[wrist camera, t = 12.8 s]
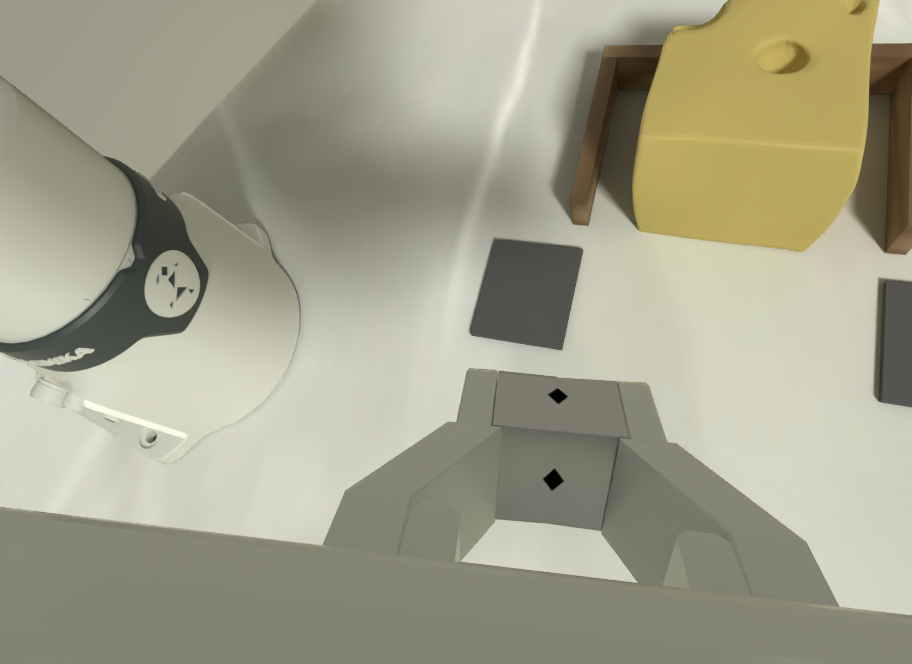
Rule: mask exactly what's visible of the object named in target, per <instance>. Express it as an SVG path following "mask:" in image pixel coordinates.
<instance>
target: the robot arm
mask: <svg viewBox="0 0 912 664" xmlns="http://www.w3.org/2000/svg"><path fill="white" fill-rule="evenodd" d="M299 326H300V309H299V302H298V298H297V294H296V291H295V289H294V286H293V284H292V282H291V280H290V279H289V277H288V276H287V274H286V273H285V272H284V271H283V270H282V269H281V267H280V266H279V265H278V264H277V263H276V261H275V260H274V258H273V256H272V252H271V247H270V242H269V239H268V236H267V234H266V232H265V231H264V230H263V229H262V228H260V227H259V226H257V225H256V224H253V223H243V224H232V223H230V222H229V221H228V220H226V219H225V218H224V217H222V216H221V215H219V214H218V213H217V212H215V211H214V210H212V209H211V208H210V207H208V206H207V205H206V204H204V203H203V202H201V201H200V200H199V199H197V198H196V197H194V196H193V195H191V194H189V193H186V192H181V193H179V194H163V193H162V191H161V190H160V189H158V187H157V186H156V185H155V184H154V183H152V182H151V181H150V180H149V179H147V178H146V177H145V176H143V175H142V174H140V173H138V172H136V171H135V170H132V169H131V168H129V167H128V166H126V165H125V164H123V163H122V162H120V161H118V160H115V159H113V158H109V157H105V156H102V155H101V154H99V153H98V152H97V151H95V150H94V149H93V148H92V147H91V146H89V145H88V144H87V143H85V142H84V141H83V140H82V139H80V138H79V137H78V136H77V135H75V134H74V133H73V132H72V131H70V130H69V129H68V128H67V127H65V126H64V125H63V124H62V123H60V122H59V121H58V120H56V119H55V118H54V117H53V116H51V115H50V114H49V113H48V112H46V111H45V110H44V109H42V108H41V107H40V106H39V105H37V104H36V103H35V102H34V101H32V100H31V99H30V98H28V97H27V96H26V95H25V94H23V93H22V92H21V91H20V90H18V89H17V88H16V87H15V86H13V85H12V84H10V83H9V82H8V81H7V80H6V79H4V78H3V77H2V76H0V354H2V355H4V356H6V357H8V358H11V359H13V360H16V361H19V362H22V363H25V364H27V365H28V366H30V367H31V368H33V369H34V370H36V384H35V385H34V387H33V389H32V390H31V392H30V393H31V394H30V396H31V397H33V398H35V399H37V400H39V401H42V402H44V403H47V404H50V405H53V406H56V407H60V408H65V407H67V408H69V409H71V410H73V411H74V412H76V413H78V414H79V415H81V416H83V417H84V418H86V419H88V420H89V421H91V422H93V423H94V424H96V425H97V426H99V427H101V428H102V429H104V430H106V431H107V432H109V433H111V434H112V435H114V436H116V437H117V438H119V439H121V440H122V441H124V442H125V443H127V444H129V445H130V446H132V447H134V448H135V449H137V450H139V451H140V452H142V453H144V454H145V455H147V456H149V457H150V458H152V459H154V460H157V461H159V462H162V463H171V462H173V461H175V460H177V459H178V458H180V457H181V456H182V455H183V454H185V453H186V452H187V451H188V450H189V449H190V448H191V447H192V446H193V445H194V444H195V443H197V442H198V441H199V440H200V439H201V438H202V437H204V436H205V435H207V434H209V433H211V432H213V431H216V430H218V429H221V428H223V427H225V426H228V425H230V424H232V423H234V422H235V421H237V420H239V419H241V418H242V417H244V416H245V415H247V414H248V413H249V412H251V411H252V410H253V409H254V408H256V407H257V406H258V405H259V404H260V403H261V402H262V401H263V400H264V399H265V398H266V397H267V396H268V395H269V394H270V392H271V391H272V390H273V389H274V387H275V386H276V385H277V383H278V382H279V381H280V379H281V377H282V376H283V374H284V372H285V371H286V369H287V367H288V365H289V363H290V360H291V358H292V355H293V353H294V350H295V347H296V343H297V339H298V334H299ZM156 435H157V438H156V440H155V441H154V437H155V436H156ZM495 519H499V520H511V521H523V522H535V523H548V524H554V525H562V526H569V527H576V528H583V529H591V530H598V531H602V532H601V534H602V535H603V536H604V538H605V539H606V540H607V542H608V543H609V544H610V546H611V547H612V548H613V550H614V551H615V552H616V554H617V555H618V556H619V558H620V559H621V560H622V562H623V563H624V565H625V566H626V567H627V569H628V570H629V571H630V573H631V574H632V575H633V577H634V578H635V579H636V581H637V582H638V583H634V582H625V581H617V580H608V579H600V578H592V577H583V576H575V575H566V574H558V573H550V572H541V571H533V570H524V569H516V568H508V567H499V566H491V565H482V564H474V563H466V562H460V561H461V560H462V559H463V558H464V557H465V556H466V554H467V553H468V552H469V551H470V550H471V549H472V547H473V546H474V545H475V544H476V543H477V542H478V541H479V539H480V538H481V537H482V536H483V535H484V534H485V532H486V531H487V530H488V529H489V528H490V527H491V526H492V524H493V523H494V522H495ZM0 664H912V615H903V614H895V613H886V612H878V611H869V610H861V609H853V608H844V607H839V605H838V603H837V601H836V599H835V597H834V595H833V593H832V591H831V589H830V587H829V585H828V583H827V582H826V580H825V578H824V576H823V574H822V572H821V570H820V568H819V566H818V564H817V562H816V560H815V558H814V556H813V554H812V552H811V550H810V548H809V547H808V545H807V543H806V541H804V540H803V539H802V538H800V537H799V536H798V535H796V534H795V533H794V532H792V531H791V530H790V529H788V528H787V527H786V526H785V525H783V524H782V523H781V522H779V521H778V520H777V519H775V518H774V517H773V516H771V515H770V514H769V513H767V512H766V511H765V510H763V509H762V508H761V507H760V506H758V505H757V504H756V503H754V502H753V501H752V500H750V499H749V498H748V497H746V496H745V495H744V494H742V493H741V492H740V491H738V490H737V489H736V488H734V487H733V486H732V485H731V484H729V483H728V482H727V481H725V480H724V479H723V478H721V477H720V476H719V475H717V474H716V473H715V472H713V471H712V470H711V469H709V468H708V467H707V466H705V465H704V464H703V463H702V462H700V461H699V460H698V459H696V458H695V457H694V456H692V455H691V454H690V453H688V452H687V451H686V450H684V449H683V448H682V447H680V446H679V445H678V444H677V443H667V440H666V437H665V434H664V431H663V427H662V424H661V421H660V418H659V415H658V412H657V408H656V405H655V402H654V399H653V396H652V393H651V389H650V386H649V385H648V384H647V383H643V382H622V381H604V380H588V379H572V378H557V377H554V376H544V375H535V374H525V373H516V372H506V371H499V372H497V370H488V369H474V368H469V369H468V371H467V373H466V378H465V382H464V387H463V392H462V397H461V402H460V407H459V411H458V416H457V421H456V422H447V423H445V424H444V425H442V426H441V427H439V428H438V429H436V430H435V431H433V432H432V433H430V434H429V435H427V436H426V437H424V438H423V439H421V440H420V441H418V442H417V443H416V444H414V445H413V446H411V447H410V448H408V449H407V450H405V451H404V452H402V453H401V454H399V455H398V456H396V457H395V458H393V459H392V460H390V461H389V462H387V463H386V464H384V465H383V466H381V467H380V468H378V469H377V470H375V471H374V472H372V473H371V474H369V475H368V476H366V477H365V478H364V479H362V480H361V481H359V482H358V483H356V484H355V485H353V486H352V487H350V488H349V489H347V490H346V491H345V493H344V495H343V498H342V500H341V502H340V505H339V507H338V509H337V512H336V514H335V517H334V519H333V521H332V524H331V526H330V528H329V531H328V533H327V536H326V538H325V540H324V543H323V545H315V544H306V543H298V542H290V541H281V540H273V539H264V538H256V537H248V536H239V535H231V534H222V533H214V532H206V531H197V530H189V529H181V528H172V527H164V526H155V525H147V524H139V523H130V522H122V521H113V520H105V519H97V518H88V517H80V516H71V515H63V514H55V513H46V512H38V511H29V510H21V509H13V508H4V507H0Z"/></svg>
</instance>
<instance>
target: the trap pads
mask: <svg viewBox="0 0 912 664" xmlns="http://www.w3.org/2000/svg"><path fill="white" fill-rule="evenodd" d="M582 254H583V249H579V248H569V247H560V246H550V245H541V244H531V243H522V242H512V241H503V240H495V242H494V246H493V249H492V253H491V257H490V261H489V264H488V268H487V272H486V276H485V280H484V283H483V287H482V291H481V295H480V298H479V302H478V306H477V310H476V314H475V317H474V321H473V325H472V329H471V332H470V334H471V335H472V336H478V337H484V338H490V339H496V340H502V341H508V342H514V343H521V344H527V345H533V346H539V347H545V348H551V349H557V350H562V348H563V343H564V338H565V334H566V329H567V324H568V319H569V315H570V310H571V305H572V301H573V296H574V291H575V286H576V282H577V277H578V272H579V268H580V263H581V258H582ZM879 402H883V403H889V404H895V405H901V406H907V407H912V283H903V282H893V281H886V282H885V283H884V292H883V318H882V344H881V371H880V397H879Z"/></svg>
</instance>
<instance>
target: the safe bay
mask: <svg viewBox="0 0 912 664" xmlns="http://www.w3.org/2000/svg"><path fill="white" fill-rule="evenodd" d="M662 47H663V45H631V46H605V48H604V52H603V57H602V61H601V66H600V70H599V74H598V79H597V83H596V88H595V92H594V97H593V101H592V105H591V110H590V114H589V119H588V123H587V127H586V132H585V136H584V141H583V145H582V149H581V154H580V158H579V163H578V167H577V172H576V176H575V180H574V185H573V189H572V194H571V198H570V202H571V209H572V216H573V224H576V225H587V226H588V225H589V221H590V216H591V211H592V206H593V202H594V197H595V192H596V188H597V183H598V178H599V173H600V169H601V164H602V159H603V155H604V150H605V145H606V141H607V136H608V131H609V126H610V122H611V117H612V112H613V108H614V103H615V98H616V93H617V89H644V90H650V87H651V84H652V81H653V79H654V75H655V72H656V69H657V65H658V62H659V58H660V55H661V51H662ZM869 93H889V94H891V107H890V133H889V160H888V186H887V212H886V239H885V253H892V254H903V255H906V254H907V253H908V251H909V250H910V249H911V248H912V43H905V44H872V49H871V59H870V74H869Z"/></svg>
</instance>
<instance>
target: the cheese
mask: <svg viewBox="0 0 912 664" xmlns="http://www.w3.org/2000/svg"><path fill="white" fill-rule="evenodd" d="M878 6H879V0H728V1H727V2H726V3H725V4H724V5H723V6H722V8H721V10H720V11H719V12H718V14H717V15H716V16H715V17H714V18H713V19H712V20H710V21H709V22H707V23H705V24H702V25H697V26H686V25H677V26H674V27H673V28H672V29H671V31H670V32H669V33H668V35H667V37H666V39H665V41H664V44H663V47H662V51H661V55H660V58H659V62H658V65H657V69H656V72H655V75H654V79H653V81H652V84H651V87H650V90H649V94H648V97H647V100H646V103H645V107H644V111H643V115H642V120H641V125H640V131H639V136H638V142H637V149H636V155H635V162H634V169H633V176H632V198H633V210H634V215H635V219H636V223H637V228H638V230H639V231H642V232H649V233H656V234H664V235H671V236H678V237H685V238H692V239H700V240H708V241H717V242H726V243H735V244H745V245H755V246H764V247H772V248H779V249H786V250H793V251H799V252H803V251H805V250H806V249H807V248H808V247H809V246H810V245H811V244H812V243H814V242H815V241H816V240H817V239H818V238H819V237H820V236H821V235H822V234H823V233H824V232H825V231H826V230H827V229H828V228H829V227H830V225H831V224H832V223H833V221H834V220H835V219H836V217H837V216H838V214H839V213H840V211H841V210H842V208H843V207H844V205H845V204H846V202H847V200H848V199H849V197H850V195H851V194H852V192H853V190H854V188H855V186H856V184H857V181H858V178H859V174H860V170H861V164H862V159H863V154H864V149H865V143H866V135H867V127H868V110H869V74H870V59H871V49H872V41H873V35H874V29H875V23H876V18H877V13H878Z"/></svg>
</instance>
